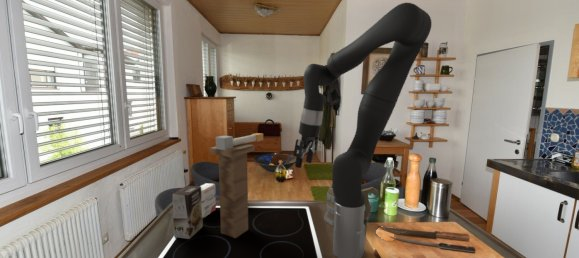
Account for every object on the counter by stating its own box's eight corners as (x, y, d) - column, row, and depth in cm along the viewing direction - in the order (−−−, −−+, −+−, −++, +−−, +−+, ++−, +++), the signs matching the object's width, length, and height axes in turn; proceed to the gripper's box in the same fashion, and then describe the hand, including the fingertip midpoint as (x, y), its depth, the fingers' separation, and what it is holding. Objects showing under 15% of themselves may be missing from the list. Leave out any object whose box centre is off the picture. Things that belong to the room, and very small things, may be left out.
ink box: (207, 207, 118) (206, 182, 116) (216, 209, 116) (215, 183, 115) (194, 216, 110) (192, 188, 108) (204, 218, 108) (202, 190, 107)
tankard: (322, 225, 103) (323, 188, 101) (327, 211, 115) (328, 178, 113) (376, 233, 98) (378, 194, 96) (376, 218, 110) (378, 183, 107)
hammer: (256, 139, 108) (256, 129, 108) (264, 140, 106) (264, 130, 106) (216, 148, 90) (215, 137, 89) (224, 150, 88) (224, 138, 87)
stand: (255, 227, 101) (254, 145, 96) (233, 243, 91) (231, 151, 86) (235, 221, 106) (233, 142, 101) (212, 234, 96) (209, 147, 91)
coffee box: (190, 239, 93) (188, 195, 90) (173, 237, 94) (171, 193, 92) (203, 226, 101) (202, 186, 99) (188, 224, 103) (186, 184, 101)
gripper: (311, 126, 86) (303, 172, 90) (328, 122, 99) (320, 163, 102) (291, 121, 90) (284, 166, 93) (310, 118, 102) (303, 158, 106)
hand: (303, 164), depth 98 cm, fingers open, 8 cm apart
